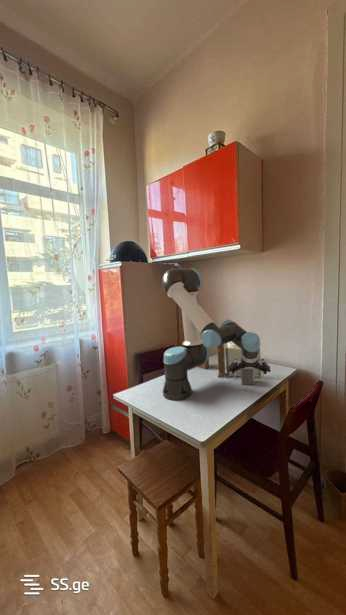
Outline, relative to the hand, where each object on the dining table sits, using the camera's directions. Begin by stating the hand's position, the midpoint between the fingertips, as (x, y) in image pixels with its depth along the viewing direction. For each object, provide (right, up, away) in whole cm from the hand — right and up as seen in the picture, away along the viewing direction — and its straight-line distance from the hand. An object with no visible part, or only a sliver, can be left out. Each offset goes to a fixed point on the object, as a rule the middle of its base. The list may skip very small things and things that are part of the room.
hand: (248, 375), depth 131 cm
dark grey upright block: (+1, -5, +6) cm, 8 cm away
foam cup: (+4, -2, +42) cm, 42 cm away
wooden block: (-21, -4, +35) cm, 41 cm away
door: (+2, -4, +14) cm, 15 cm away
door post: (-10, -5, +17) cm, 21 cm away
